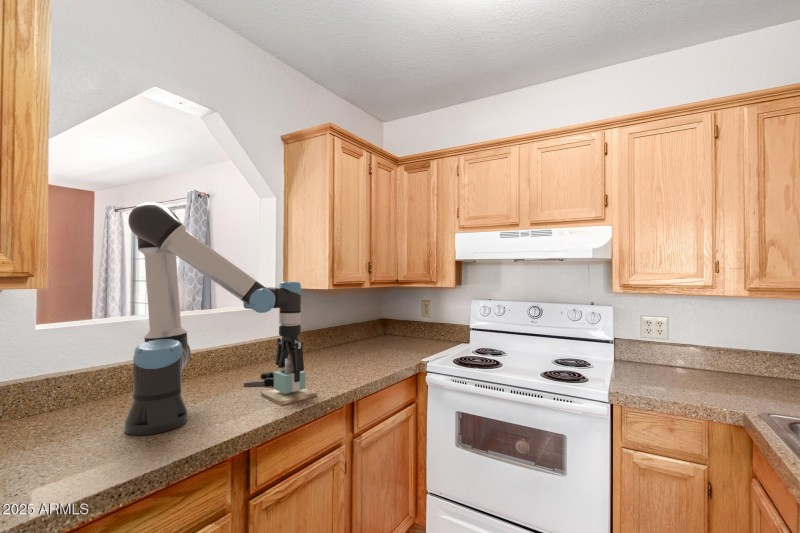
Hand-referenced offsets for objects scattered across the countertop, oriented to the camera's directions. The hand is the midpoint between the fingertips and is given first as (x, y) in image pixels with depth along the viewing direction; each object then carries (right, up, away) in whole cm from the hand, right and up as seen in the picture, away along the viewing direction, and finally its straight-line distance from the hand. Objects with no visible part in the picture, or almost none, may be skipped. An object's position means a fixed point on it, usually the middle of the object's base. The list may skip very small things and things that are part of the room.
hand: (289, 388), depth 134 cm
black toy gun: (-13, -4, +16) cm, 21 cm away
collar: (0, 0, 0) cm, 0 cm away
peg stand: (0, -3, 0) cm, 3 cm away
